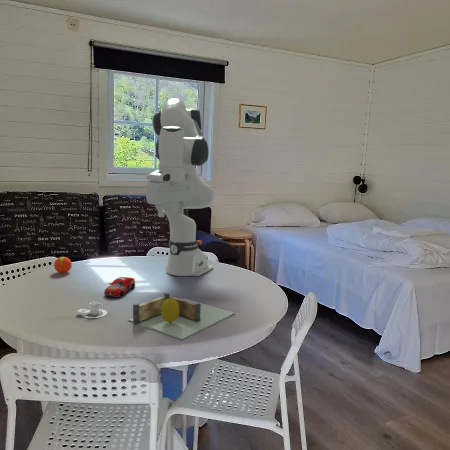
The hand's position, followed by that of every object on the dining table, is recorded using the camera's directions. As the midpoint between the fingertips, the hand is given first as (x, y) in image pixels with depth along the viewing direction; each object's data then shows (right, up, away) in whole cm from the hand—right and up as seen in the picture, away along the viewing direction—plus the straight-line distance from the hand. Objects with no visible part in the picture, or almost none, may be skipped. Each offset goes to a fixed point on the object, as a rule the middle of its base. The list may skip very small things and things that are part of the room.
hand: (170, 215), depth 150 cm
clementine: (-50, -24, +33) cm, 64 cm away
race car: (-20, -29, +12) cm, 37 cm away
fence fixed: (-4, -32, -13) cm, 35 cm away
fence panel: (+6, -32, -12) cm, 35 cm away
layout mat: (+5, -33, -11) cm, 35 cm away
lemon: (+2, -33, -17) cm, 38 cm away
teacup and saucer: (-25, -32, -9) cm, 42 cm away
